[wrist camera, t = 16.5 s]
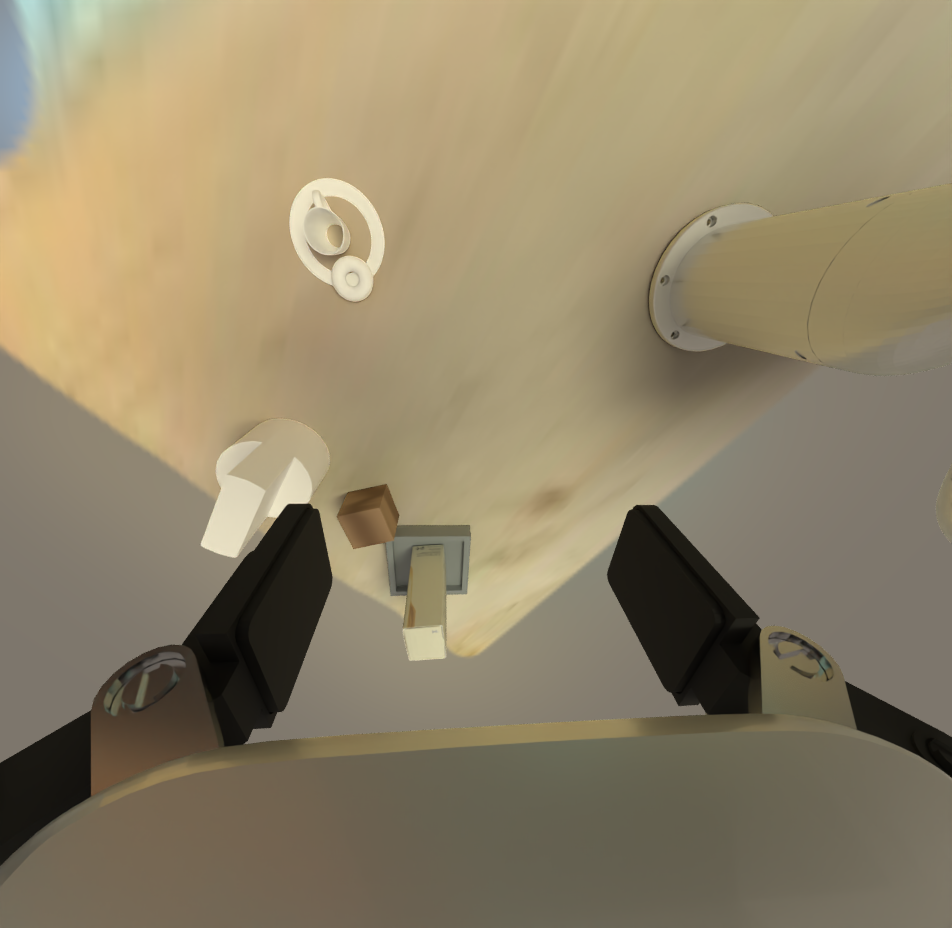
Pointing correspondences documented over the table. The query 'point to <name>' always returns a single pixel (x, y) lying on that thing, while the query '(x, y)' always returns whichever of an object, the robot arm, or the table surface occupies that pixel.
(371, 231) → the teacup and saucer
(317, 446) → the base with upright slab
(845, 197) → the table surface
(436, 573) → the skincare box
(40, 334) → the table surface
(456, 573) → the slate tray
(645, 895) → the robot arm
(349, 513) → the walnut block
